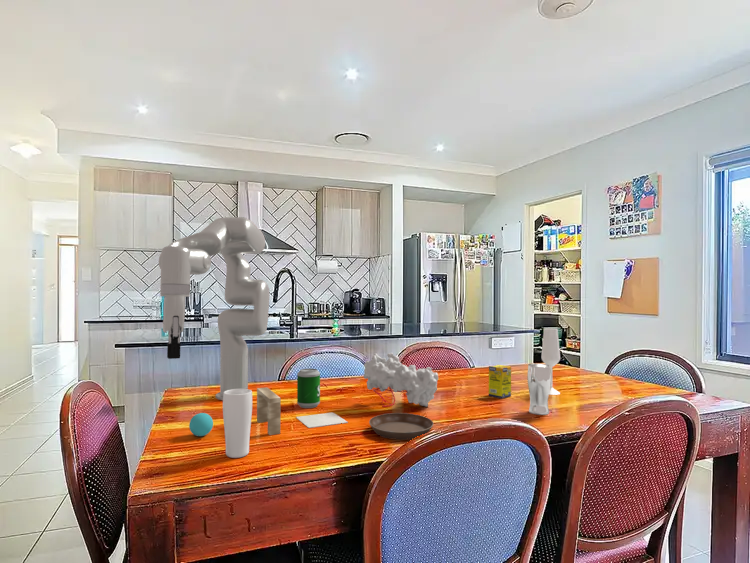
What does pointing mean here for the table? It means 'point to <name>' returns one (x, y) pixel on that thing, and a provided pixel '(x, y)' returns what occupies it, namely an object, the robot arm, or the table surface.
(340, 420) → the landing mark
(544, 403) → the white vase
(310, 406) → the soda can
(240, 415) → the drinking glass
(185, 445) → the table surface
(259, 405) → the bridge
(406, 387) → the molecular structure model
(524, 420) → the table surface
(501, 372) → the supplement box
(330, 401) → the table surface
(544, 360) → the champagne flute
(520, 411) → the table surface
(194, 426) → the ball
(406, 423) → the plant saucer
